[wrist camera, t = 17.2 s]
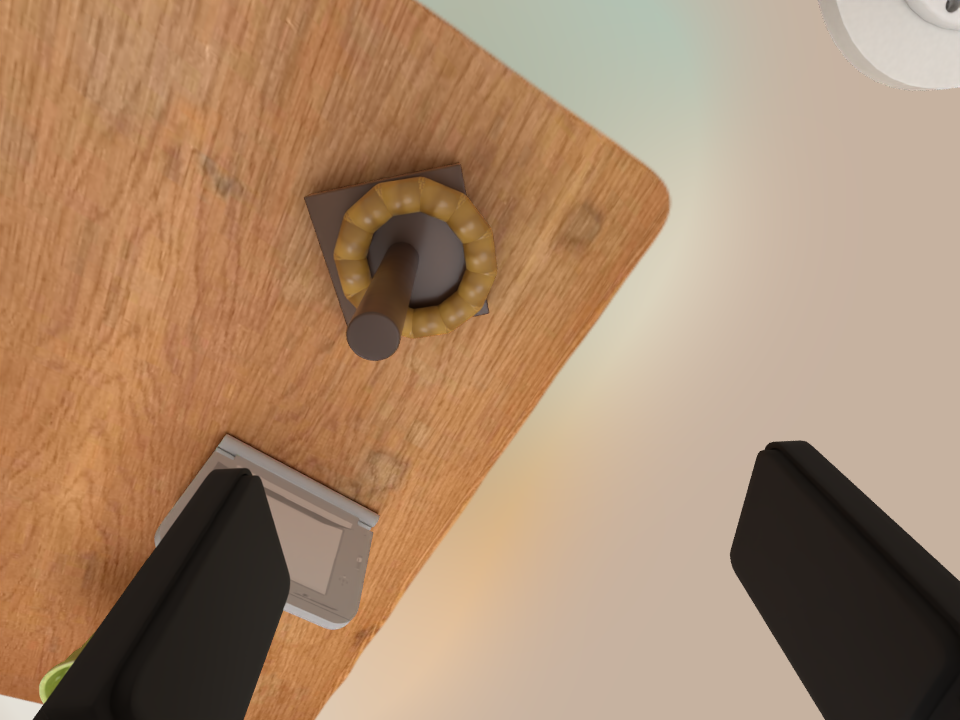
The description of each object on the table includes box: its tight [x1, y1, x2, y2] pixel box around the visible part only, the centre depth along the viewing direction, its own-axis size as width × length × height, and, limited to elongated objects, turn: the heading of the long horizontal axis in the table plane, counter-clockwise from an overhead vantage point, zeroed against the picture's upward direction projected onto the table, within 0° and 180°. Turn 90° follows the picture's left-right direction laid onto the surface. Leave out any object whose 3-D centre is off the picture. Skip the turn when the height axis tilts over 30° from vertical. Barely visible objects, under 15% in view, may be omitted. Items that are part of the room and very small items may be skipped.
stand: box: [304, 163, 489, 361], centre depth 24 cm, size 9×9×14 cm
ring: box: [334, 177, 497, 339], centre depth 28 cm, size 9×9×2 cm
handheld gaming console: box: [155, 434, 379, 630], centre depth 34 cm, size 13×9×10 cm
